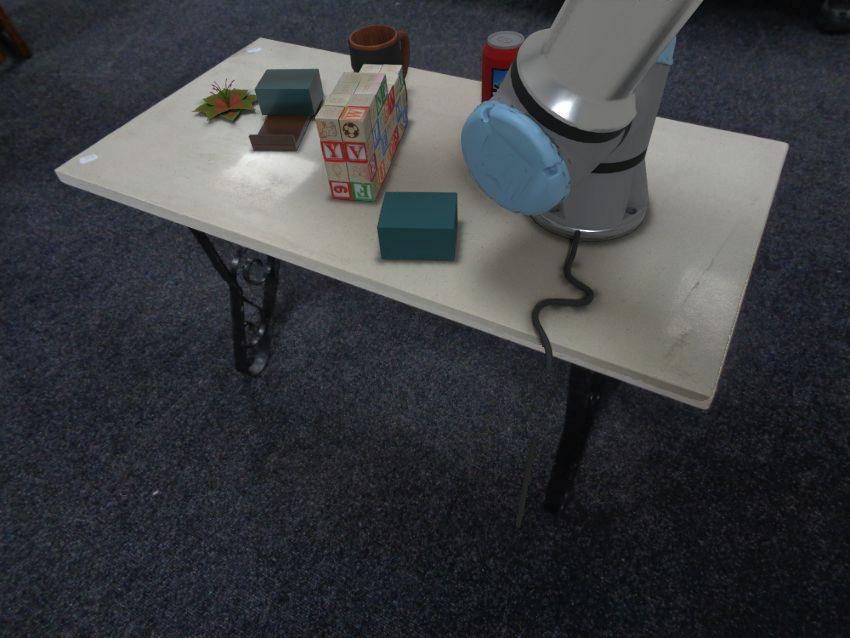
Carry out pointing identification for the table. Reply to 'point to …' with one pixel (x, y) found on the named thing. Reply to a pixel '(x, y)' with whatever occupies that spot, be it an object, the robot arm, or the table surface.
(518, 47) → the beverage can
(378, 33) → the mug
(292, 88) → the teal lidded box
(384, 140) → the stack of blocks
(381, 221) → the block
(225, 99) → the lily flower
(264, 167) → the table surface
